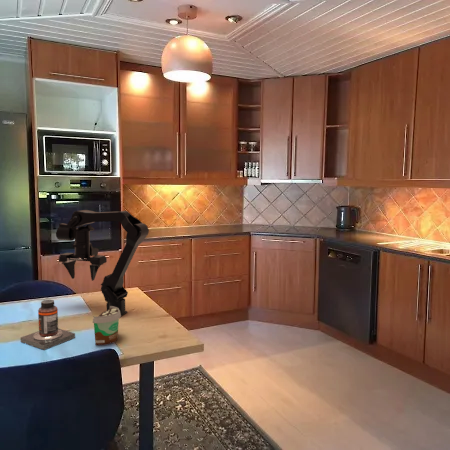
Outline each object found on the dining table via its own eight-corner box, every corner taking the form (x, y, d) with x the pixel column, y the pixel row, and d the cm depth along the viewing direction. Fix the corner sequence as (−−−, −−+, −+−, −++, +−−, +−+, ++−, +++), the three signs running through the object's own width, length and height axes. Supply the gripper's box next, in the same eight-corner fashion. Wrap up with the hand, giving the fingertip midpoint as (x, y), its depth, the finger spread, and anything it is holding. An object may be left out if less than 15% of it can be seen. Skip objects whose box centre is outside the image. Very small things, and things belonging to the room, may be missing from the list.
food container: (110, 348, 131) (110, 318, 130) (93, 346, 132) (92, 316, 131) (127, 334, 143) (127, 306, 142) (111, 332, 144) (110, 305, 143)
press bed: (52, 330, 145) (52, 325, 145) (75, 337, 139) (75, 332, 139) (20, 341, 135) (20, 336, 135) (43, 350, 129) (43, 344, 129)
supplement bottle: (37, 332, 138) (36, 300, 136) (56, 329, 141) (55, 297, 140) (40, 338, 133) (39, 304, 132) (59, 335, 136) (59, 301, 135)
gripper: (113, 240, 170) (113, 276, 171) (74, 237, 174) (75, 273, 176) (98, 244, 159) (99, 283, 161) (57, 241, 164) (58, 279, 165)
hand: (83, 279), depth 166 cm, fingers open, 9 cm apart
